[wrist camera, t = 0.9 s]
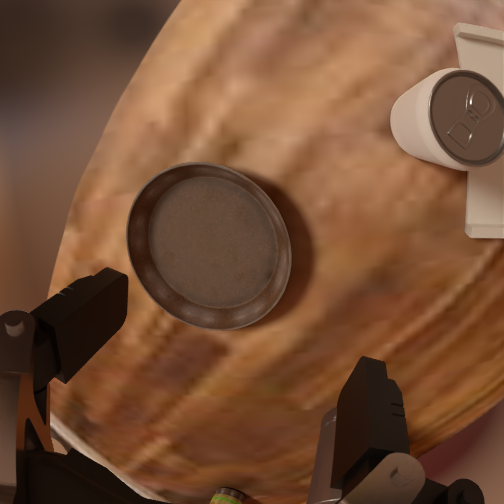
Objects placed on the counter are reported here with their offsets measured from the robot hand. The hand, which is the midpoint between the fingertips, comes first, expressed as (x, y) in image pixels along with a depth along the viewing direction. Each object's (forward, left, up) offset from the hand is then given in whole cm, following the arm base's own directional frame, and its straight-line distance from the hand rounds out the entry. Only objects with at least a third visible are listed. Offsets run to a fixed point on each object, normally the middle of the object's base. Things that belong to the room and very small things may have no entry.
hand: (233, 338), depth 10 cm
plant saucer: (+2, +11, -22) cm, 25 cm away
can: (-1, -13, -22) cm, 26 cm away
